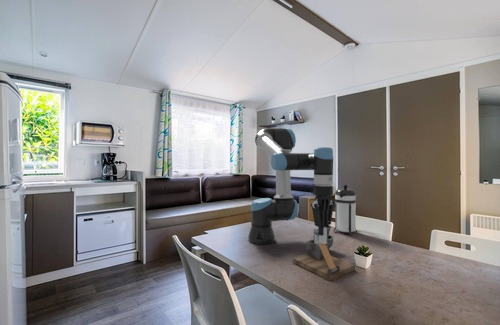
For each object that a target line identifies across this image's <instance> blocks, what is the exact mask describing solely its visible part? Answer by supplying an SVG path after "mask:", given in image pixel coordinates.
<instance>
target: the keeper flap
mask: <svg viewBox="0 0 500 325" xmlns="http://www.w3.org/2000/svg"><path fill="white" fill-rule="evenodd" d="M319 246H320V249H321V251H322V253H323V256H324V258H325V260H326V262H327V265H328V267H329V269H331V273H332V272H335V271H337V270H338V268H337V267H336V266H335V264H334V262H333V260H332V257H333V256H332V255H331V254H330V250H329V251H328V249H327V246H326V244H323V243H321V244H319ZM331 256H332V257H331Z"/></svg>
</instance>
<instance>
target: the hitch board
mask: <svg viewBox="0 0 500 325" xmlns="http://www.w3.org/2000/svg"><path fill="white" fill-rule="evenodd" d="M326 246H327V249H328V243H327V244H326ZM305 249H306V250H305V251H306V252H305V253H304V254H303V255H298V256H296V257H293V258H292V262H293V264H295V265H297V266H298V267H301V268H303V269H305V270H308V271H309V272H312V273H313V274H316V275H318V276H320V277H322V278H323V279H326V280H328V281H330V282H333V281H336V280H338V279H339V278H341V277H344V276H346V275H348V274H350V273H352V272H354V271H356V265H355V264H354V263H350V262H348V261H346V260H342V259H340V258H337V257H335V256H333V255H331V257H332V260H333V262H334V264H335V266H336V267H337V268H338V270H337V271H335V272H332V273H331V269H329V267H328V265H327V262H326V260H325V258H324V256H323V253H322V251H321V249H320V246H319V245H317V244H314V239H311V240H308V241H307V240H306V242H305Z"/></svg>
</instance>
